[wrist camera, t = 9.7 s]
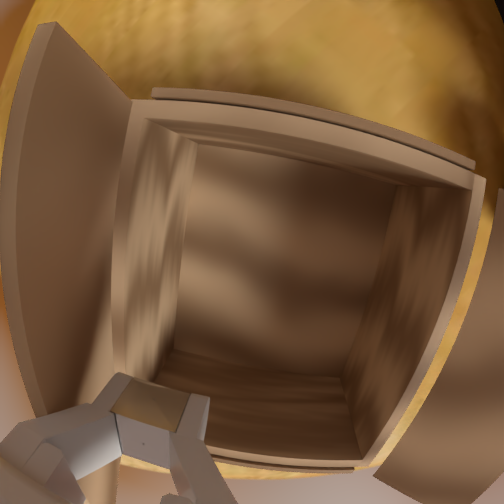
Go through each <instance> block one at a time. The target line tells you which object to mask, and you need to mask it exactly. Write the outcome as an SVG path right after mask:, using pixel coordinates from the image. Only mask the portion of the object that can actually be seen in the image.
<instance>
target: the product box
mask: <svg viewBox="0 0 504 504" xmlns="http://www.w3.org/2000/svg"><path fill="white" fill-rule="evenodd" d="M495 3H496V5H497V8H498V10H499V13H500V15H501V18H502V20H503V23H504V0H495Z"/></svg>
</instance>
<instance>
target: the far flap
mask: <svg viewBox="0 0 504 504" xmlns="http://www.w3.org/2000/svg"><path fill="white" fill-rule="evenodd" d="M503 472H504V189H501V188H499V190H498V197H497V203H496V209H495V215H494V220H493V225H492V230H491V234H490V239H489V243H488V247H487V251H486V255H485V258H484V262H483V266H482V269H481V272H480V276H479V279H478V282H477V285H476V288H475V291H474V294H473V297H472V300H471V303H470V306H469V308H468V311H467V314H466V316H465V319H464V322H463V324H462V326H461V329H460V331H459V334H458V336H457V338H456V341H455V343H454V345H453V347H452V350H451V352H450V354H449V356H448V358H447V360H446V362H445V364H444V366H443V368H442V370H441V372H440V374H439V376H438V378H437V380H436V382H435V384H434V386H433V387H432V389H431V391H430V393H429V395H428V396H427V398H426V400H425V402H424V403H423V405H422V407H421V408H420V410H419V412H418V413H417V415H416V416H415V418H414V420H413V421H412V423H411V424H410V426H409V427H408V429H407V430H406V432H405V433H404V435H403V436H402V438H401V439H400V441H399V442H398V443H397V445H396V446H395V448H394V449H393V450H392V452H391V453H390V454H389V456H388V457H387V458H386V460H385V461H384V462H383V464H382V465H381V466H380V467H379V469H378V470H377V471H376V473H375V474H374V475H373V476H374V477H375V478H377V479H379V480H380V481H382V482H384V483H385V484H387V485H389V486H391V487H392V488H394V489H396V490H398V491H400V492H401V493H403V494H405V495H407V496H409V497H411V498H412V499H414V500H416V501H418V502H420V503H423V504H471V503H472V502H474V501H475V500H476V499H477V498H478V497H479V496H480V495H481V494H482V493H483V492H484V491H485V490H486V489H487V488H489V486H491V484H492V483H493V482H494V481H495V480H496V479H497V478H498V477H499V476H500V475H501V474H502V473H503Z"/></svg>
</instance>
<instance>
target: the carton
mask: <svg viewBox="0 0 504 504" xmlns="http://www.w3.org/2000/svg"><path fill="white" fill-rule="evenodd" d="M151 97H153V98H154V99H156V100H139V99H131V101H132V102H133V104H132V108H131V112H130V117H129V122H128V127H127V132H126V137H125V143H124V149H123V155H122V161H121V168H120V175H119V182H118V190H117V199H116V208H115V219H114V231H113V247H112V271H111V320H112V344H113V359H114V371H115V374H116V373H118V372H121V373H124V374H127V375H129V376H132V377H136V378H139V379H142V380H145V381H148V382H151V383H155V384H158V385H161V386H165V387H168V388H172V389H176V390H180V391H184V392H188V393H193V394H198V395H203V396H207V397H210V404H209V411H208V419H207V426H206V431H205V436H204V443H205V445H206V447H207V449H208V451H209V453H210V455H211V457H212V459H213V461H216V462H221V463H226V464H232V465H238V466H244V467H251V468H258V469H267V470H276V471H287V472H302V473H353V471H354V467H365V466H369V465H370V463H371V462H372V461H373V459H374V458H375V457H376V455H377V454H378V452H379V451H380V450H381V448H382V447H383V445H384V444H385V442H386V441H387V439H388V438H389V436H390V435H391V433H392V432H393V430H394V429H395V427H396V426H397V424H398V422H399V421H400V419H401V418H402V416H403V414H404V413H405V411H406V409H407V408H408V406H409V404H410V402H411V401H412V399H413V397H414V395H415V394H416V392H417V390H418V388H419V386H420V384H421V382H422V380H423V379H424V377H425V375H426V373H427V371H428V369H429V367H430V365H431V362H432V360H433V358H434V356H435V354H436V352H437V350H438V347H439V345H440V343H441V341H442V338H443V336H444V333H445V331H446V329H447V326H448V324H449V321H450V319H451V316H452V313H453V311H454V308H455V305H456V302H457V300H458V297H459V294H460V291H461V288H462V285H463V282H464V278H465V275H466V272H467V268H468V265H469V261H470V258H471V254H472V250H473V246H474V242H475V238H476V234H477V229H478V225H479V220H480V215H481V210H482V204H483V198H484V192H485V185H486V179H485V178H483V177H481V176H479V175H477V174H475V173H473V172H470V171H468V170H475V164H476V161H474V160H471V159H469V158H467V157H465V156H463V155H461V154H458V153H456V152H454V151H452V150H449V149H447V148H445V147H442V146H440V145H437V144H435V143H433V142H430V141H427V140H425V139H422V138H420V137H417V136H414V135H412V134H409V133H406V132H403V131H400V130H397V129H394V128H391V127H388V126H385V125H382V124H379V123H376V122H373V121H369V120H366V119H363V118H359V117H355V116H352V115H348V114H344V113H341V112H337V111H333V110H329V109H324V108H320V107H316V106H311V105H306V104H302V103H297V102H292V101H286V100H281V99H275V98H269V97H263V96H256V95H249V94H241V93H233V92H224V91H214V90H202V89H187V88H161V87H153V89H152V93H151Z"/></svg>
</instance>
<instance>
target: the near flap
mask: <svg viewBox="0 0 504 504" xmlns="http://www.w3.org/2000/svg"><path fill="white" fill-rule="evenodd" d="M132 104H133V102H132V101H131V100H130V99H129V98H128V97H127V96H126V95H125V94H124V93H123V91H122V90H121V89H120V88H119V87H118V86H117V85H116V84H115V83H114V82H113V81H112V80H111V79H110V77H109V76H108V75H107V74H106V73H105V72H104V71H103V70H102V69H101V68H100V67H99V66H98V65H97V64H96V63H95V61H94V60H93V59H92V58H91V57H90V56H89V55H88V54H87V53H86V52H85V51H84V50H83V49H82V48H81V47H80V46H79V45H78V44H77V42H76V41H75V40H74V39H73V38H72V37H71V36H70V35H69V34H68V33H67V32H66V31H65V30H64V29H63V28H62V27H61V26H60V25H59V24H58V23H57V22H50V23H44V24H39V25H38V26H37V29H36V31H35V33H34V36H33V38H32V41H31V44H30V46H29V49H28V52H27V55H26V58H25V61H24V64H23V67H22V70H21V73H20V77H19V80H18V84H17V87H16V91H15V95H14V99H13V103H12V107H11V112H10V117H9V122H8V127H7V133H6V139H5V145H4V152H3V160H2V169H1V181H0V263H1V274H2V283H3V291H4V299H5V305H6V311H7V317H8V322H9V327H10V332H11V337H12V342H13V346H14V350H15V354H16V358H17V361H18V365H19V368H20V372H21V376H22V378H23V382H24V385H25V388H26V391H27V394H28V397H29V400H30V403H31V405H32V408H33V411H34V413H35V416H36V418H38V417H42V416H45V415H49V414H52V413H55V412H59V411H62V410H65V409H68V408H72V407H75V406H78V405H81V404H84V403H89V404H92V403H93V402H94V400H95V399H96V398H97V396H98V395H99V394H100V392H101V391H102V390H103V389H104V387H105V386H106V385H107V383H108V382H109V381H110V380H111V378H112V377H113V376H114V374H115V371H114V359H113V344H112V320H111V271H112V247H113V231H114V219H115V208H116V199H117V190H118V182H119V175H120V168H121V161H122V155H123V149H124V143H125V137H126V132H127V127H128V122H129V117H130V112H131V108H132ZM120 460H121V456H120V457H119V458H117V459H115V460H113V461H112V462H110V463H108V464H106V465H105V466H103V467H101V468H99V469H97V470H96V471H94V472H92V473H90V474H88V475H86V476H84V477H83V478H81V479H79V480H77V482H78V484H79V486H80V488H81V489H82V491H83V493H84V495H85V497H86V500H85V502H84V504H115V503H116V493H117V483H118V475H119V468H120Z"/></svg>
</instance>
